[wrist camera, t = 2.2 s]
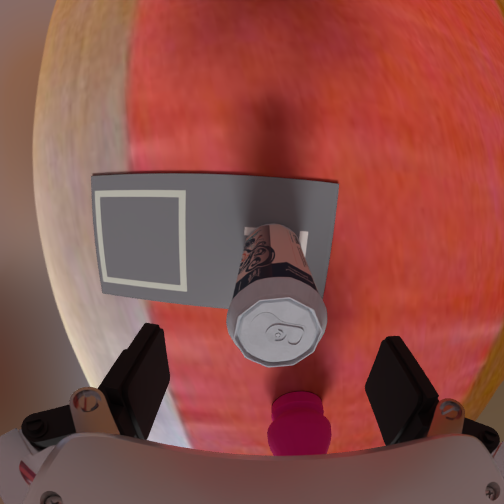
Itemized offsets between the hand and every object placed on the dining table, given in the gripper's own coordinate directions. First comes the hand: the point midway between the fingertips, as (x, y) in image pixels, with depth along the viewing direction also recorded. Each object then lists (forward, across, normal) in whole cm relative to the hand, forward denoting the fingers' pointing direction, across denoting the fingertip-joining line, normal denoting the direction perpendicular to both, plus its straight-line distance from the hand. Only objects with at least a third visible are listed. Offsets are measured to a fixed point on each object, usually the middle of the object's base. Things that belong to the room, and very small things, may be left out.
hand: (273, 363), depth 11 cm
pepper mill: (+14, -5, +19) cm, 24 cm away
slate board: (+14, +6, -1) cm, 15 cm away
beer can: (+14, 0, -1) cm, 14 cm away
